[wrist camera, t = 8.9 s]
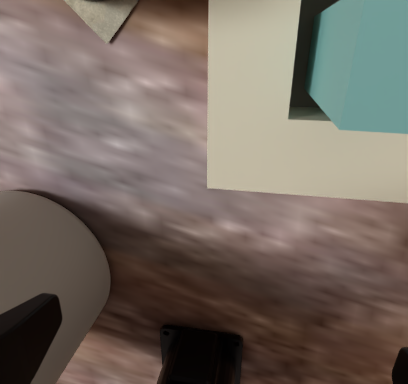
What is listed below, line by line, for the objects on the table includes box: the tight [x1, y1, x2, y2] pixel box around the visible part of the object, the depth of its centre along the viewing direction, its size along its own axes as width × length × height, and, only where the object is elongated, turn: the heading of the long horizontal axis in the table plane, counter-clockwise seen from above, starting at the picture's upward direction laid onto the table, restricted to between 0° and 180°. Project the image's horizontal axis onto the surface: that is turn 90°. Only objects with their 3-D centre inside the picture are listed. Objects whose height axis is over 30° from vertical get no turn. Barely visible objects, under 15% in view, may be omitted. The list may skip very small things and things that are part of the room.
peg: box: [304, 0, 408, 134], centre depth 11 cm, size 3×3×9 cm
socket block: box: [207, 0, 408, 203], centre depth 14 cm, size 12×12×4 cm
